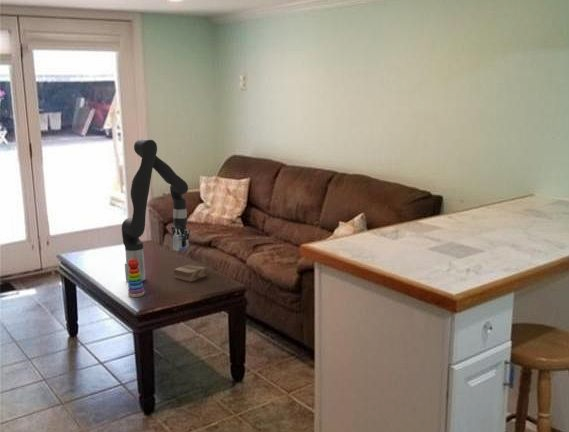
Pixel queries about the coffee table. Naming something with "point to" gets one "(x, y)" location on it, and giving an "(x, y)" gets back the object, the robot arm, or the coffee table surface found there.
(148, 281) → the coffee table surface
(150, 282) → the coffee table surface
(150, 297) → the coffee table surface
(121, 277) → the coffee table surface
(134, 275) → the stacking toy
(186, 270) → the tan square block
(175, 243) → the medicine box
